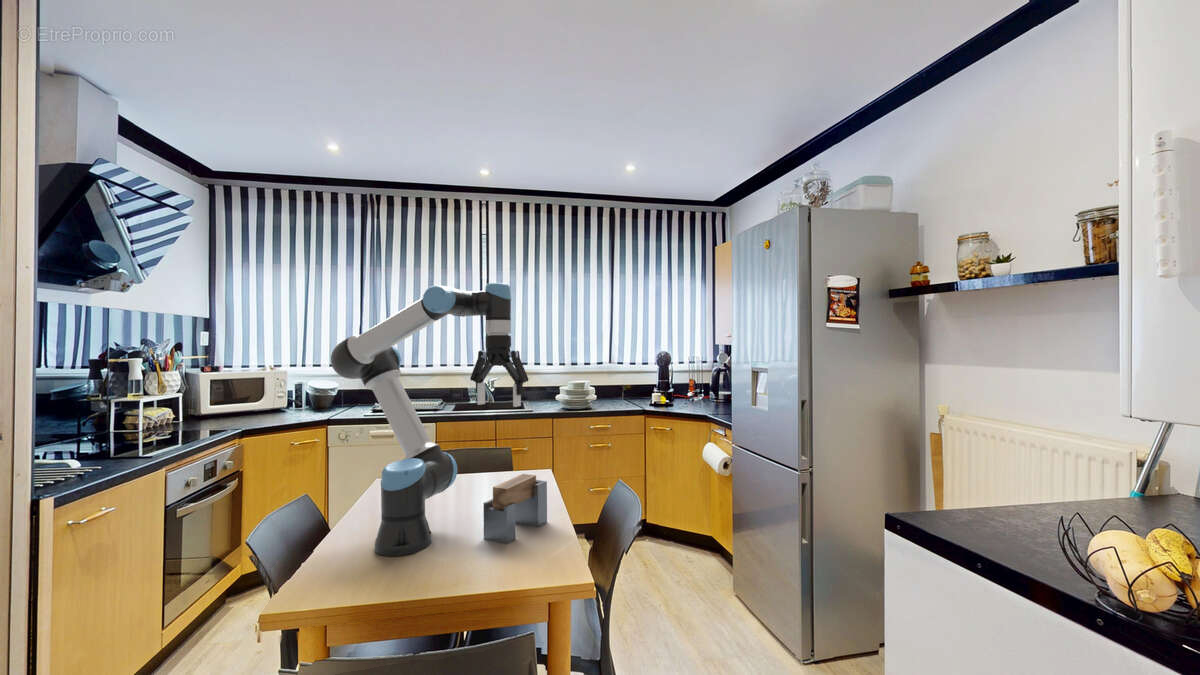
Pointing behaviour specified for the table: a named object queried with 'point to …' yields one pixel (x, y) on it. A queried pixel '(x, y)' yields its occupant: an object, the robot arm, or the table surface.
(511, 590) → the table surface
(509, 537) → the cup bracket stand
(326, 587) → the table surface
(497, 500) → the walnut rail
